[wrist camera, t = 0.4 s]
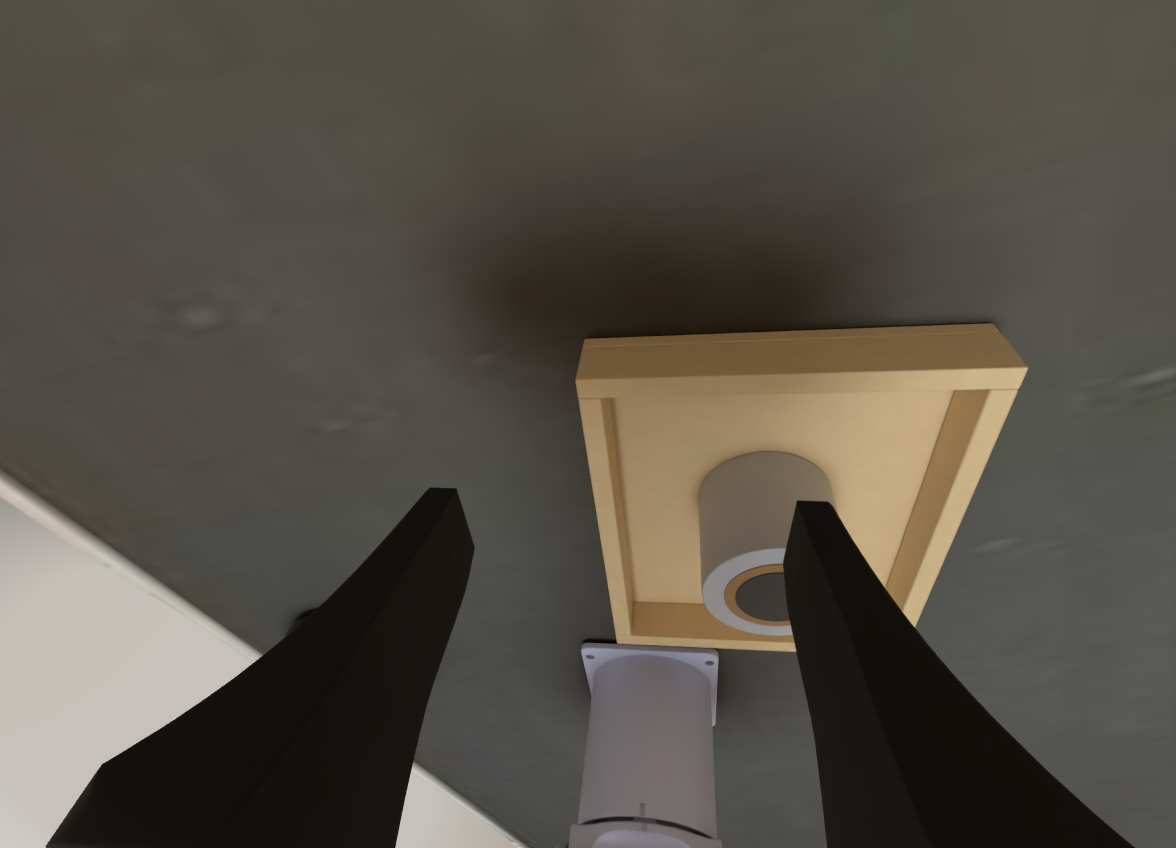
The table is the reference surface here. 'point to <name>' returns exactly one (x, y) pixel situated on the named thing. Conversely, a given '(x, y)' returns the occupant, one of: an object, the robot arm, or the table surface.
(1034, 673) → the table surface
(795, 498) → the tape roll
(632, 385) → the tray
